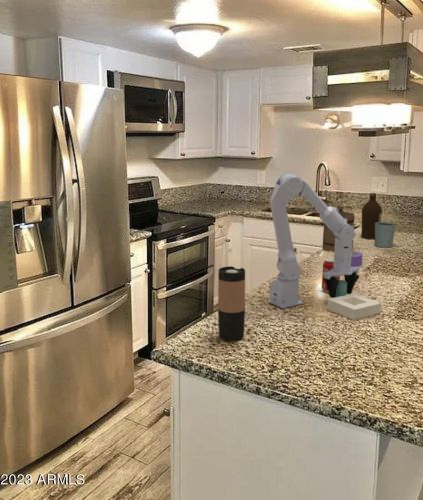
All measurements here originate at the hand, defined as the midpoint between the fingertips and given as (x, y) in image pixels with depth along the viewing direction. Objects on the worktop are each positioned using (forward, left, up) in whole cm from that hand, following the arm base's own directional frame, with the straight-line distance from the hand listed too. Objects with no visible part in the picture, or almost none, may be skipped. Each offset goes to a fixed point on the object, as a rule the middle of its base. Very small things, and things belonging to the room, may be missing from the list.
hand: (340, 295), depth 176 cm
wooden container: (+58, +60, -2) cm, 83 cm away
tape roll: (+41, +36, -2) cm, 55 cm away
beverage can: (+5, +10, -2) cm, 11 cm away
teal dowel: (0, 0, -2) cm, 2 cm away
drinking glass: (+83, +52, -2) cm, 98 cm away
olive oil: (+94, +71, -2) cm, 118 cm away
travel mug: (-50, -7, -2) cm, 51 cm away
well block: (-4, -10, -2) cm, 11 cm away
